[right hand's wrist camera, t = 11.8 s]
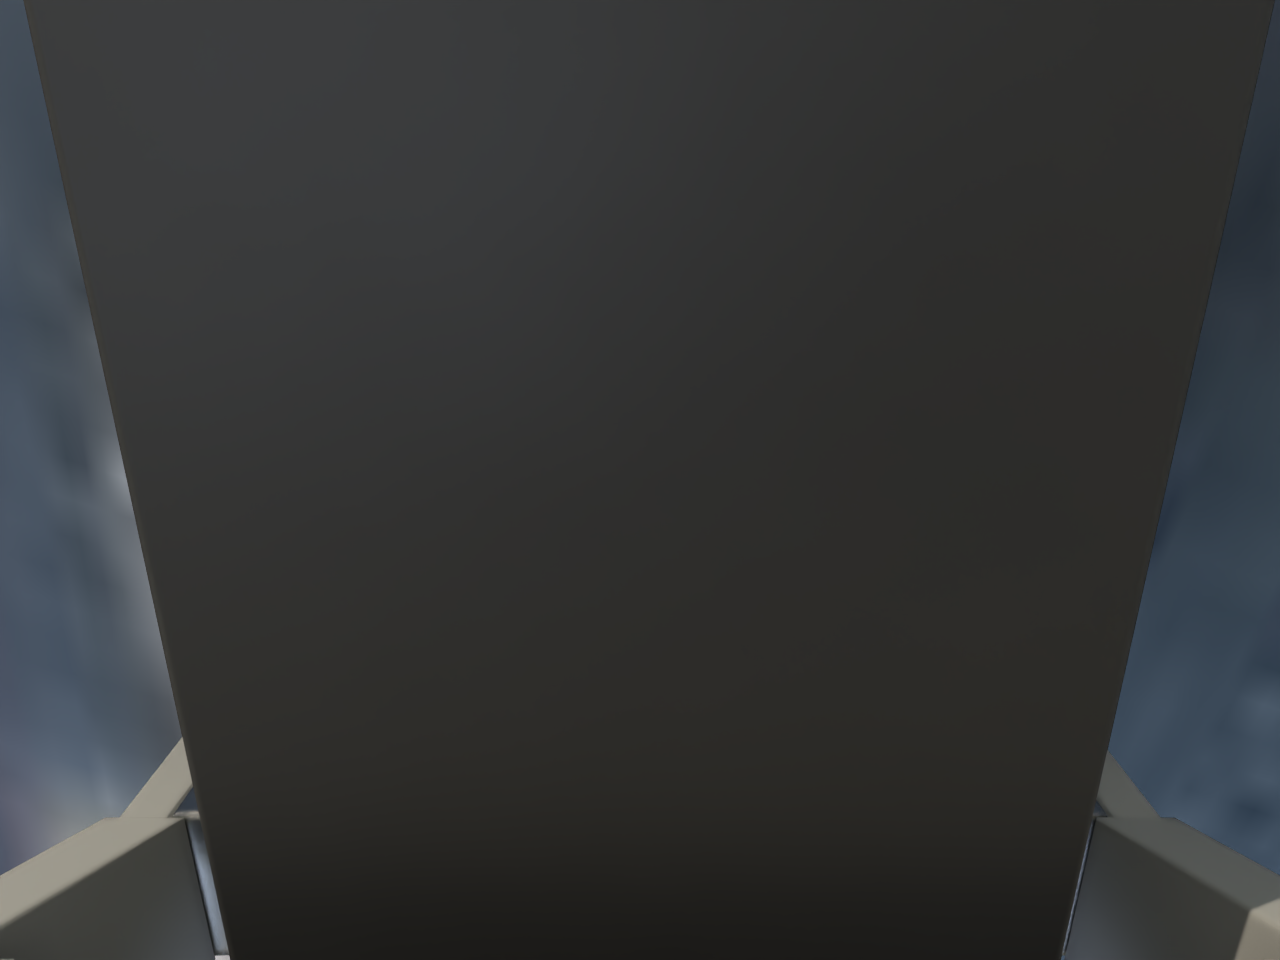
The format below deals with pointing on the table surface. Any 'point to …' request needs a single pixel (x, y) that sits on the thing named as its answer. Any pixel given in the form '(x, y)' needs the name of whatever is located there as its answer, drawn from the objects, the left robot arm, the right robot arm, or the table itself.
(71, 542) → the table surface
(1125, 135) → the box
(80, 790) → the table surface
